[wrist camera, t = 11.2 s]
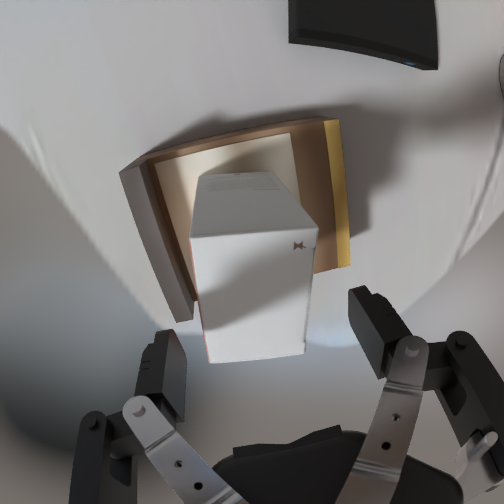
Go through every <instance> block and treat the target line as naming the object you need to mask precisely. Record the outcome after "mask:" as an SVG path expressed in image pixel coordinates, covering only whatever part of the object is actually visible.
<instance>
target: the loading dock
mask: <svg viewBox="0 0 504 504" xmlns="http://www.w3.org/2000/svg"><path fill="white" fill-rule="evenodd" d="M269 171H273V172H274V173H275V174H276V175H277V177H278V178H279V179H280V180H281V181H282V183H283V184H284V185H285V186H286V187H287V189H288V190H289V191H290V192H291V193H292V195H293V196H294V197H295V198H296V200H297V201H298V202H299V203H300V205H301V206H302V207H303V208H304V210H305V211H306V212H307V213H308V215H309V216H310V217H311V218H312V220H313V221H314V222H315V224H316V225H317V226H318V228H319V232H318V239H317V247H316V252H315V261H314V269H313V274H316V273H320V272H324V271H327V270H331V269H335V268H342V267H346V266H349V265H350V237H349V217H348V202H347V189H346V178H345V167H344V157H343V149H342V140H341V132H340V125H339V119H334V118H327V117H313V118H306V119H299V120H292V121H286V122H280V123H274V124H268V125H263V126H258V127H253V128H247V129H243V130H238V131H233V132H229V133H224V134H220V135H215V136H211V137H207V138H203V139H199V140H195V141H191V142H187V143H184V144H180V145H176V146H173V147H169V148H166V149H162V150H159V151H155V152H152V153H149V154H146V155H142V156H140V157H139V158H137V159H136V160H135V161H133V162H132V163H131V164H129V165H128V166H127V167H125V168H124V169H123V170H122V171H120V172H119V175H120V179H121V182H122V185H123V188H124V191H125V194H126V197H127V200H128V203H129V206H130V209H131V212H132V214H133V217H134V220H135V223H136V226H137V228H138V231H139V234H140V237H141V239H142V242H143V245H144V247H145V250H146V252H147V255H148V257H149V260H150V262H151V265H152V267H153V270H154V272H155V275H156V277H157V280H158V282H159V284H160V287H161V289H162V292H163V294H164V296H165V299H166V301H167V303H168V305H169V308H170V310H171V312H172V314H173V317H174V319H175V321H176V323H178V322H183V321H188V320H193V313H194V301H198V299H197V293H196V287H195V280H194V273H193V266H192V259H191V252H190V245H189V234H190V227H191V220H192V213H193V207H194V200H195V194H196V188H197V182H198V177H199V176H200V175H214V174H228V173H246V172H269Z"/></svg>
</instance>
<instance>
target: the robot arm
mask: <svg viewBox="0 0 504 504" xmlns="http://www.w3.org/2000/svg"><path fill="white" fill-rule="evenodd" d="M500 82H501V88H502V92H503V95H504V55H503V56H502V59H501V62H500ZM348 316H349V322H350V325H351V327H352V329H353V331H354V333H355V335H356V337H357V339H358V341H359V343H360V345H361V346H362V348H363V350H364V352H365V354H366V356H367V358H368V360H369V362H370V364H371V366H372V368H373V370H374V372H375V374H376V376H377V378H378V379H381V378H384V377H386V378H387V381H386V384H385V385H384V388H383V391H382V394H381V398H380V400H379V404H378V406H377V409H376V412H375V415H374V417H373V420H372V423H371V426H370V428H369V431H368V433H367V434H366V433H363V432H359V431H348V430H347V431H346V430H345V431H342V430H341V427H340V425H336V426H333V427H329V428H326V429H322V430H318V431H315V432H312V433H310V434H308V435H306V436H304V437H302V438H300V439H298V440H296V441H294V442H292V443H289V444H254V445H247V446H241V447H234V448H233V455H230V456H228V457H226V458H224V459H222V460H221V461H219V462H218V463H217V464H216V465H214V466H213V467H212V468H211V467H209V465H208V464H207V463H206V462H205V461H204V460H203V459H201V457H200V456H199V455H198V454H197V453H196V452H195V451H194V450H193V449H192V448H191V447H190V446H189V445H188V443H187V442H186V441H185V440H184V439H183V438H182V437H181V436H180V435H179V433H178V432H177V431H176V423H178V422H184V413H185V390H186V389H185V388H186V372H187V359H186V355H185V352H184V350H183V348H182V346H181V344H180V342H179V340H178V338H177V336H176V333H175V332H174V330H173V329H168V330H163V331H157V332H156V334H155V339H154V343H152V344H148V346H147V347H146V349H145V350H144V352H143V354H142V358H141V364H140V368H139V369H140V371H139V373H138V378H137V383H136V389H135V395H134V397H133V398H131V399H130V400H128V401H127V402H126V404H125V405H124V407H123V410H122V411H120V412H117V413H115V414H112V415H109V416H105V415H104V414H103V413H102V412H100V411H92V412H90V413H88V414H86V415H85V416H84V417H83V419H82V420H81V423H80V427H79V433H78V438H77V444H76V450H75V456H74V462H73V469H72V478H71V485H70V494H69V504H137V465H138V454H141V453H144V452H145V453H146V455H147V456H148V458H149V459H150V461H151V462H152V463H153V465H154V466H155V467H156V469H157V470H158V471H159V473H160V474H161V475H162V476H163V478H164V479H165V480H166V481H167V483H168V484H169V485H170V486H171V488H172V489H173V490H174V491H175V492H176V493H177V495H178V496H179V497H180V498H181V499H182V500H183V502H184V504H464V503H466V502H467V501H469V500H471V499H473V498H474V497H476V496H478V495H479V494H481V493H483V492H488V491H491V490H494V489H495V488H497V487H498V486H500V485H501V484H503V483H504V382H503V380H502V379H501V377H500V376H499V374H498V372H497V371H496V369H495V368H494V366H493V365H492V363H491V362H490V360H489V359H488V358H487V356H486V354H485V353H484V351H483V350H482V349H481V347H480V346H479V344H478V343H477V341H476V340H475V339H474V338H473V336H472V335H470V334H469V333H467V332H465V331H455V332H453V333H451V334H450V335H449V336H448V338H447V341H445V342H436V343H427V342H426V341H425V340H424V339H423V338H421V337H418V336H413V335H412V333H411V332H410V330H409V329H408V328H407V326H406V325H405V323H404V322H403V320H402V319H401V318H400V316H399V315H398V313H396V311H395V309H394V308H392V305H391V304H390V302H389V301H388V300H387V298H385V297H383V296H382V295H380V294H378V293H376V294H373V295H372V294H371V293H370V291H369V290H368V288H367V287H366V286H365V285H363V286H360V287H356V288H353V289H349V291H348ZM428 390H434V391H435V393H436V395H437V397H438V399H439V401H440V403H441V405H442V407H443V409H444V411H445V413H446V415H447V417H448V419H449V422H450V424H451V426H452V428H453V430H454V433H455V435H456V437H457V439H458V442H459V444H460V446H461V449H460V450H459V451H458V453H457V455H456V466H457V473H456V476H455V478H454V477H453V476H451V475H450V474H448V473H445V472H443V471H441V470H439V469H436V468H434V467H432V466H430V465H428V464H426V463H423V462H421V461H419V460H417V459H415V458H413V457H411V456H409V455H407V452H408V448H409V445H410V442H411V439H412V435H413V431H414V428H415V424H416V420H417V417H418V413H419V408H420V404H421V400H422V395H423V391H428Z"/></svg>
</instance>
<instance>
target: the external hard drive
mask: <svg viewBox="0 0 504 504" xmlns="http://www.w3.org/2000/svg"><path fill="white" fill-rule="evenodd" d="M288 12H289V43H292V44H302V45H310V46H318V47H325V48H332V49H338V50H344V51H349V52H354V53H359V54H364V55H369V56H373V57H378V58H382V59H386V60H390V61H393V62H397V63H401V64H404V65H408V66H411V67H414V68H418V69H421V70H438V50H437V30H436V17H435V7H434V0H288Z"/></svg>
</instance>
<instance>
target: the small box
mask: <svg viewBox="0 0 504 504" xmlns="http://www.w3.org/2000/svg"><path fill="white" fill-rule="evenodd" d="M318 232H319V228H318V226H317V225H316V224H315V222H314V221H313V220H312V218H311V217H310V216H309V215H308V213H307V212H306V211H305V210H304V208H303V207H302V206H301V205H300V203H299V202H298V201H297V200H296V198H295V197H294V196H293V195H292V193H291V192H290V191H289V190H288V189H287V187H286V186H285V185H284V184H283V183H282V181H281V180H280V179H279V178H278V177H277V175H276V174H275V173H274V172H273V171H269V172H246V173H228V174H214V175H200V176H199V177H198V182H197V188H196V194H195V200H194V207H193V213H192V220H191V227H190V234H189V245H190V252H191V259H192V266H193V273H194V280H195V287H196V293H197V299H198V305H199V311H200V317H201V323H202V329H203V334H204V339H205V346H206V350H207V356H208V361H209V363H226V362H238V361H249V360H258V359H268V358H277V357H284V356H292V355H298V354H303V353H305V349H306V335H307V325H308V316H309V307H310V298H311V289H312V279H313V269H314V261H315V252H316V247H317V239H318Z"/></svg>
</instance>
